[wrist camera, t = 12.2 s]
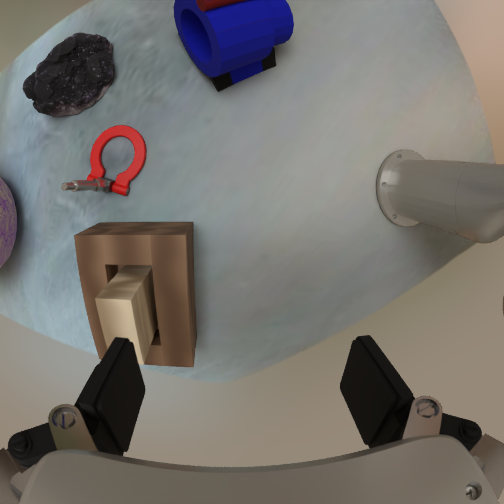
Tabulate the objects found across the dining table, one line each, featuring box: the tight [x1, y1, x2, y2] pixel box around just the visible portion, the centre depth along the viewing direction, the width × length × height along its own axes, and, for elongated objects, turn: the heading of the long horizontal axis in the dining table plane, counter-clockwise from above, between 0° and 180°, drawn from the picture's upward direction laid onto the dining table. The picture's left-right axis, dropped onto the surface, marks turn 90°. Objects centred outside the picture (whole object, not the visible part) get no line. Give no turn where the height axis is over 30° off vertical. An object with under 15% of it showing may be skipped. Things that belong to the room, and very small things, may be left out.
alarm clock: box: [174, 0, 294, 92], centre depth 22 cm, size 12×12×15 cm
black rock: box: [23, 33, 114, 117], centre depth 23 cm, size 13×14×10 cm
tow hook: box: [61, 125, 146, 196], centre depth 26 cm, size 8×13×9 cm
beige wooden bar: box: [95, 265, 158, 365], centre depth 29 cm, size 4×8×10 cm, turn 178°
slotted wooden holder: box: [74, 222, 197, 367], centre depth 34 cm, size 14×18×8 cm
